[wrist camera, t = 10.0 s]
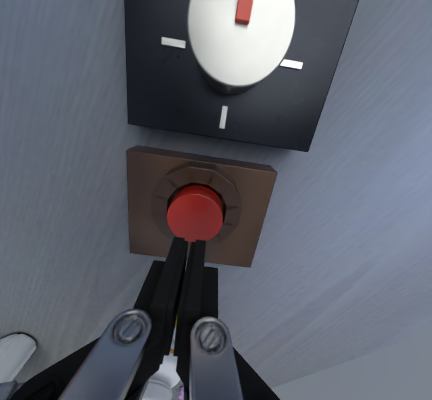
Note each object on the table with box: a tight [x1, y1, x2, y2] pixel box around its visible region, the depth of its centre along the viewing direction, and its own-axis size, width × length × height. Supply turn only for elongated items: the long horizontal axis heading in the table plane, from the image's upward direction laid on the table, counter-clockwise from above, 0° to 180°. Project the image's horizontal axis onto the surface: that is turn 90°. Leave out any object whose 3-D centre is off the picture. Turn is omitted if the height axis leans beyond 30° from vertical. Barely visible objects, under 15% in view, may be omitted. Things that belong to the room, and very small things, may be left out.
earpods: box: [179, 387, 183, 399], centre depth 34 cm, size 3×2×2 cm
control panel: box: [124, 0, 359, 152], centre depth 13 cm, size 13×10×3 cm
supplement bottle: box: [142, 314, 180, 400], centre depth 21 cm, size 5×5×10 cm
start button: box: [167, 185, 223, 242], centre depth 15 cm, size 4×4×2 cm
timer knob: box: [187, 0, 296, 95], centre depth 10 cm, size 4×4×5 cm
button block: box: [126, 146, 277, 267], centre depth 18 cm, size 12×10×4 cm
